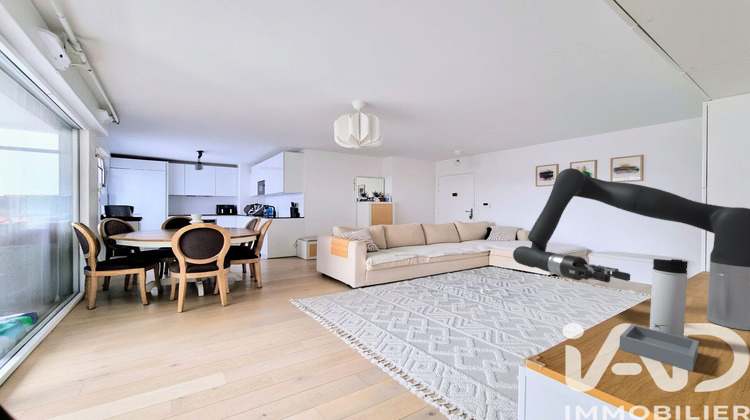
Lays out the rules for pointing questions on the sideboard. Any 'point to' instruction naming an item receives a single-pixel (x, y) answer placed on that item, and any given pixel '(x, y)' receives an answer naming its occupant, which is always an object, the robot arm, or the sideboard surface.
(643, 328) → the tray
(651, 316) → the travel mug
